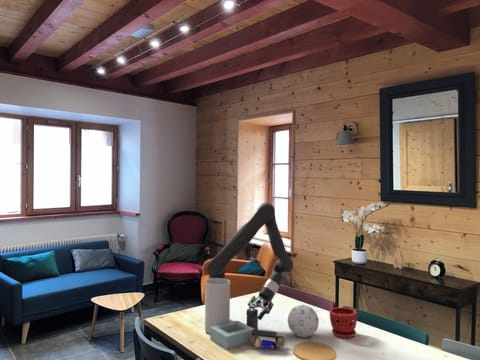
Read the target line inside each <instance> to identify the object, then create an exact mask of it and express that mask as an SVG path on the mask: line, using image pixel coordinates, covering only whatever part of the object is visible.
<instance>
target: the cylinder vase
mask: <svg viewBox="0 0 480 360" xmlns="http://www.w3.org/2000/svg"><path fill="white" fill-rule="evenodd" d="M204 289H205V290H204V293H205V294H204V296H205V297H204V301H205V302H204V303H205V304H204V330H205V333H207V334H210V327H213V326H217V325H221V324H225V323H230V320H231V319H230V317H231V316H230V313H231V312H230V311H231V310H230V309H231V308H230V307H231V305H230V302H231V301H230V300H231V281H230V280H229V279H227V278H225V279H222V278H214V279H209V278H208V279H206V280H205V287H204Z"/></svg>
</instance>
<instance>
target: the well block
mask: <svg viewBox="0 0 480 360" xmlns="http://www.w3.org/2000/svg"><path fill="white" fill-rule="evenodd" d="M252 330H255V329H253V328H251V327H249V326H248V325H247V323H246V324H245V323H243V322H242V321H239V320H234V321H231V322H230V323H225V324H221V325H217V326H213V327H210V336H209V337H210V338H209V340H210V341H212V342H213V343H215V344H217V345H218V346H219V347H221V348H222V349H224V350H225V351H229V350H232V349H235V348H239V347H243V346H245V345H248V344H251V339H252V338H253V337H255V336H254V335H251V334H252Z"/></svg>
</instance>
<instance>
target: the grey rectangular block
mask: <svg viewBox="0 0 480 360" xmlns="http://www.w3.org/2000/svg"><path fill="white" fill-rule="evenodd" d="M246 312H247V314H246V325H248V326H249V327H251V328H253V329H255V330H259V328H258V327H259V324H258V323H259V319H258V316H259V309H257V308H250V309H249V308H248V309H246Z"/></svg>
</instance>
